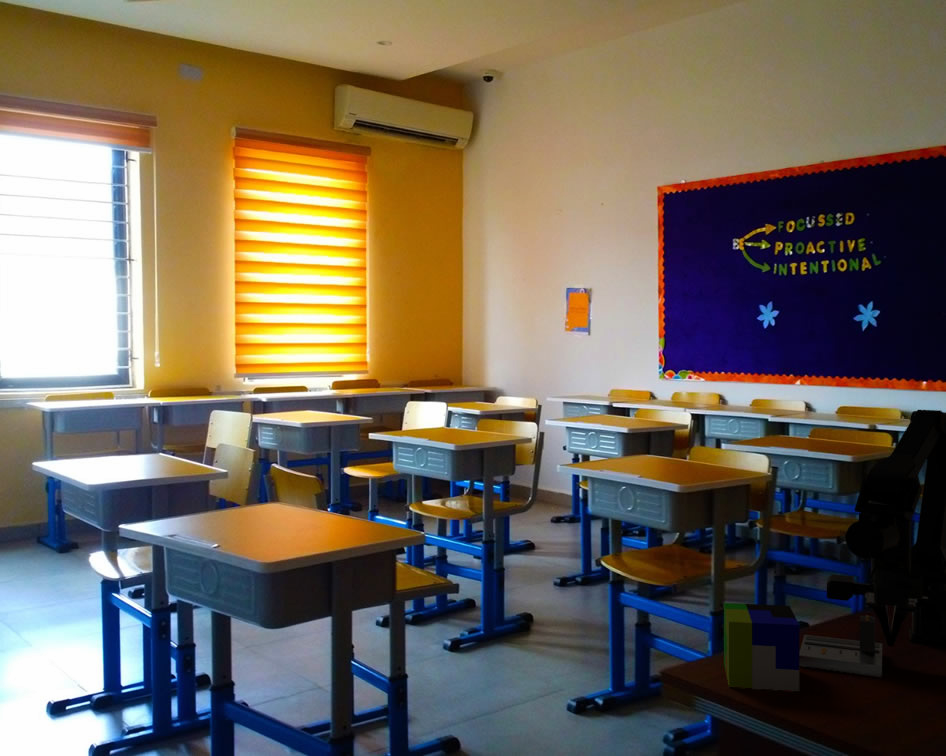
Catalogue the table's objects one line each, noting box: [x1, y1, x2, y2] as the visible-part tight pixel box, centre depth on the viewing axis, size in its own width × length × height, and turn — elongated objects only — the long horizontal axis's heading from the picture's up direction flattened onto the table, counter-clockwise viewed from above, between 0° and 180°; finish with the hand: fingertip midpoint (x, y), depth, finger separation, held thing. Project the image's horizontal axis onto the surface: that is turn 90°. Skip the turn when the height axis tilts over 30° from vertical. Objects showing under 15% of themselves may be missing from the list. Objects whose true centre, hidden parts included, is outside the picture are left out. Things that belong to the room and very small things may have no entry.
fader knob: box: [859, 614, 876, 653], centre depth 144 cm, size 3×2×5 cm
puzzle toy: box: [723, 602, 800, 692], centre depth 138 cm, size 10×10×10 cm
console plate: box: [799, 634, 883, 678], centre depth 145 cm, size 11×12×2 cm
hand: (890, 645), depth 143 cm, fingers closed
